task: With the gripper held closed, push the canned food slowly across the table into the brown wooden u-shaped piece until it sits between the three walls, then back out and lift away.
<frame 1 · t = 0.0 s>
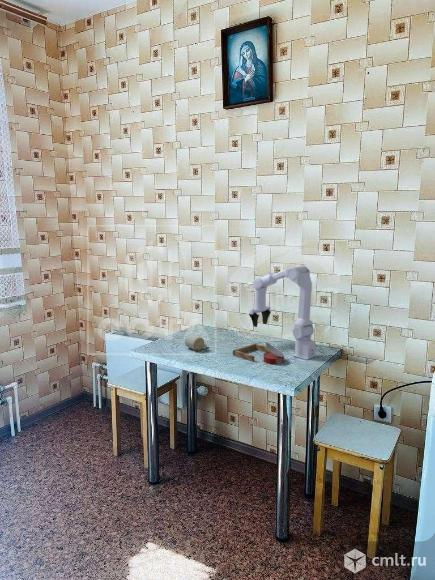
hand: (259, 325, 234), 10 cm above the table, tool pointing down, fingers open, 7 cm apart
canned food: (273, 361, 209), on the table
ceramic mug: (196, 348, 228), on the table
brown wooden u-shaped piece: (254, 354, 217), on the table
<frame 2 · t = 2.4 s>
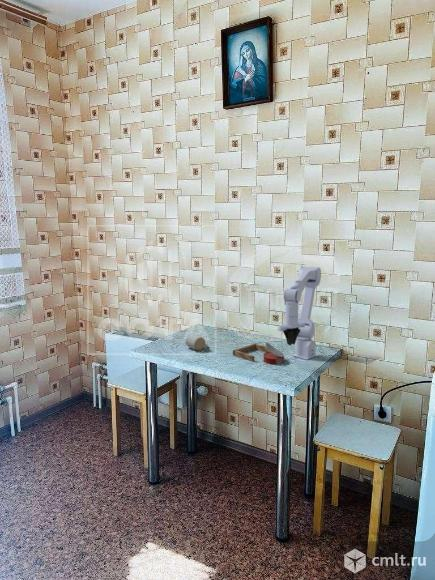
hand: (291, 344, 200), 10 cm above the table, tool pointing down, fingers closed
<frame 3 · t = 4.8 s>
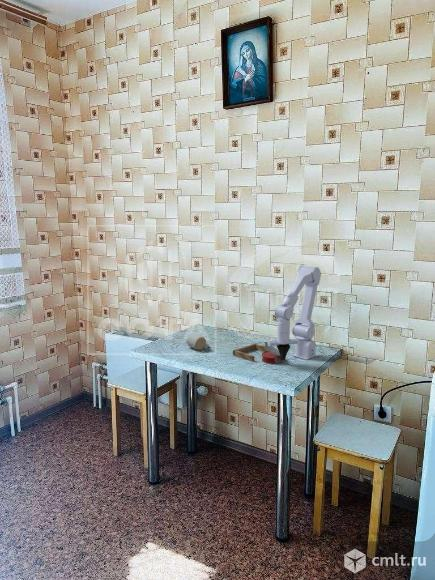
hand: (282, 359, 204), 2 cm above the table, tool pointing down, fingers closed
canned food: (272, 360, 210), on the table, touching gripper
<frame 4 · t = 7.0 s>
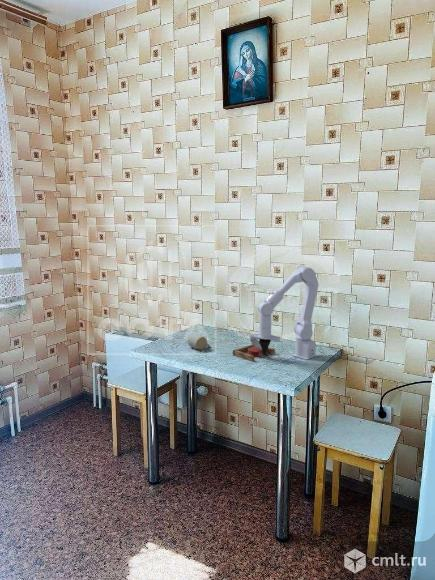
hand: (264, 354, 212), 2 cm above the table, tool pointing down, fingers closed
canned food: (257, 354, 218), on the table, touching gripper
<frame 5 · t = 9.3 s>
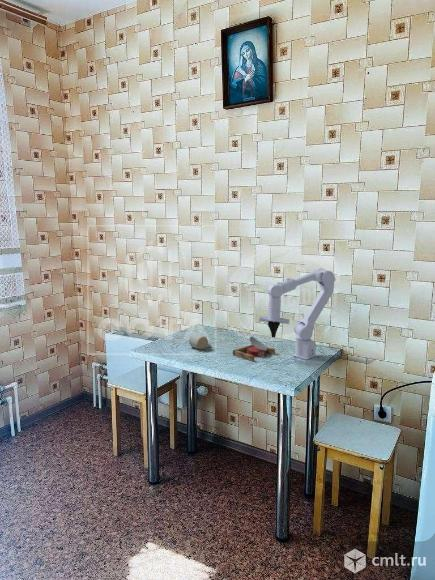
hand: (273, 336, 212), 10 cm above the table, tool pointing down, fingers closed
canned food: (257, 354, 219), on the table
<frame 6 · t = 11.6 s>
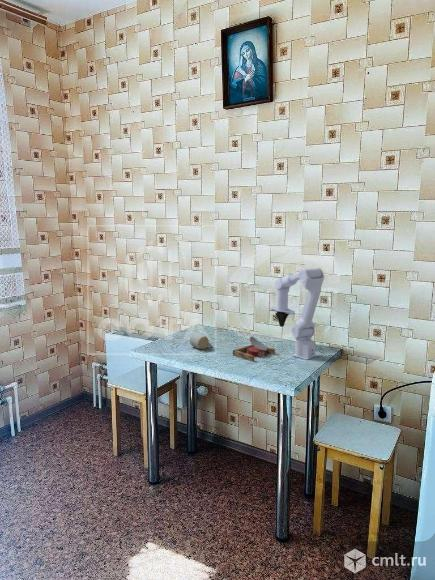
hand: (281, 326, 231), 10 cm above the table, tool pointing down, fingers closed
at the end: canned food inside the target area on the brown wooden u-shaped piece (2.1 cm from its centre), point 0.0 cm above the brown wooden u-shaped piece's base; canned food tilted 0°; canned food moved 12.4 cm from its start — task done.
